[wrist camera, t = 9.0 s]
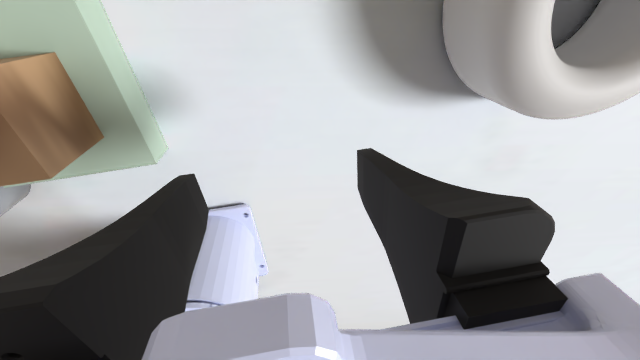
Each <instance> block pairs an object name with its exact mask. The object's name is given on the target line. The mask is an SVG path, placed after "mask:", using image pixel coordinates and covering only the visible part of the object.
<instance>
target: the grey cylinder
mask: <svg viewBox="0 0 640 360" xmlns="http://www.w3.org/2000/svg"><path fill="white" fill-rule="evenodd" d="M30 188H31V184H25V185H19V186H13V187H6V188H4V187H3V186H1V187H0V216H2V215H3V214H4V213H5V212H7V211H8V210H9V209H11V208H12V207H13V206H14V205H16V204H17V203H18V202H19V201H21V200H22V199H23V198H25V197H26V196H27V195H28V193H29V192H30Z"/></svg>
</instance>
